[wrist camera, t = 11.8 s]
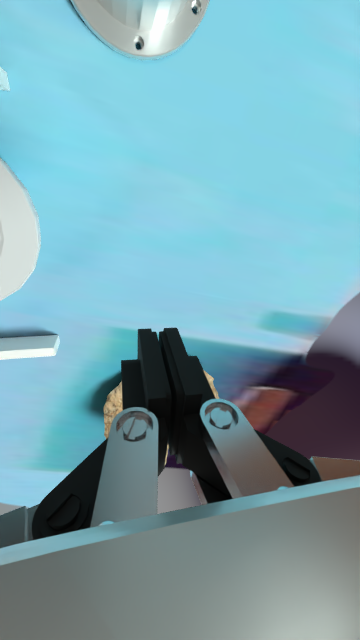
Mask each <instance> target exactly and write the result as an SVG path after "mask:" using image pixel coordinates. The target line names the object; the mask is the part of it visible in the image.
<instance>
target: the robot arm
mask: <svg viewBox="0 0 360 640" xmlns="http://www.w3.org/2000/svg"><path fill="white" fill-rule="evenodd" d="M209 1H210V0H71V2H72V4H73V6H74V8H75V9H76V11H77V12H78V14H79V15H80V17H81V18H82V19H83V21H84V22H85V24H86V25H87V27H88V28H89V29H90V30H91V31H92V32H93V33H94V34H95V35H96V36H97V37H98V38H99V39H100V40H101V41H102V42H103V43H105V44H106V45H107V46H109V47H110V48H111V49H113V50H114V51H116V52H118V53H120V54H122V55H124V56H126V57H129V58H133V59H137V60H157V59H160V58H163V57H167V56H169V55H170V54H172V53H174V52H175V51H177V50H179V49H180V48H181V47H182V46H183V45H184V44H185V43H186V42H187V41H188V40H189V39H190V38H191V36H192V35H193V33H194V32H195V30H196V29H197V27H198V26H199V24H200V22H201V20H202V18H203V17H204V15H205V12H206V10H207V7H208V4H209ZM192 9H195V10H196V15H195V14H194V13H193V12H192ZM136 44H140V46H141V49H140V50H137V49H136V47H135V45H136ZM121 371H122V409H123V411H121V412H120V413H118V414H117V415H116V417H115V418H114V419H113V421H112V424H111V427H110V432H109V437H108V438H107V439H106V440H105V441H104V442H103V443H102V444H101V445H100V446H99V447H97V448H96V449H95V450H94V451H93V452H92V453H91V454H90V455H89V456H88V457H87V458H86V459H85V460H84V461H83V462H82V463H81V464H79V465H78V466H77V467H76V468H75V469H74V470H73V471H72V472H71V473H70V474H69V475H68V476H67V477H66V478H65V479H64V480H63V481H62V482H60V483H59V484H58V485H57V486H56V487H55V488H54V489H53V490H52V491H51V492H50V493H49V494H48V495H47V496H46V497H45V498H44V499H43V500H42V502H41V503H40V504H38V505H36V506H33V507H31V508H28V509H26V506H23V507H21V508H18V509H16V510H13V511H11V512H8V513H5V514H3V515H0V640H360V461H359V460H347V459H335V458H324V457H311V459H310V460H308V459H307V458H306V457H304V456H303V455H301V454H300V453H298V452H296V451H294V450H292V449H290V448H288V447H287V446H285V445H283V444H281V443H279V442H277V441H275V440H273V439H271V438H270V437H268V436H266V435H264V434H262V433H260V432H258V431H256V430H255V429H253V428H252V426H251V425H250V423H249V422H248V421H247V419H246V418H245V416H244V415H243V414H242V412H241V411H240V410H239V408H238V407H237V406H236V405H234V404H233V403H231V402H229V401H227V400H224V399H216V398H215V396H214V393H213V391H212V389H211V387H210V384H209V382H208V380H207V377H206V375H205V373H204V371H203V368H202V366H201V364H200V362H199V359H198V357H197V356H188V355H187V352H186V350H185V347H184V344H183V342H182V339H181V337H180V334H179V332H178V329H177V328H164V331H163V332H159V342H158V338H157V334H156V332H152V331H151V329H138V359H137V360H121ZM167 445H168V447H169V452H170V455H175V457H176V461H177V464H178V463H182V465H183V466H185V467H186V468H188V469H189V470H190V474H191V478H192V481H193V484H194V486H195V489H196V491H197V493H198V496H199V499H200V501H201V503H202V505H200V506H195V507H190V508H186V509H181V510H175V511H170V512H166V513H161V514H157V495H158V491H157V489H158V476H159V475H160V473H161V472H162V471H163V469H164V468H165V458H166V455H167Z"/></svg>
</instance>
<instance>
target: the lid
mask: <svg viewBox="0 0 360 640" xmlns="http://www.w3.org/2000/svg"><path fill="white" fill-rule="evenodd" d="M40 246H41V235H40V226H39V218H38V214H37V211H36V209H35V207H34V205H33V202H32V200H31V198H30V195H29V193H28V191H27V189H26V187H25V186H24V185H23V184H22V182H21V181H20V180H19V178H18V177H17V176H16V175H15V173H14V172H13V171H12V170H11V168H10V167H9V166H8V164H7V163H6V162H5V161H3V160H2V159H1V158H0V301H1V300H3V299H4V298H6V297H7V296H9V295H11V294H12V293H14V292H15V291H17V290H19V289H20V288H21V287H22V286H23V284H24V283H25V282H26V280H27V279H28V278H29V276H30V275H31V274H32V272H33V271H34V269H35V267H36V263H37V259H38V255H39V251H40Z"/></svg>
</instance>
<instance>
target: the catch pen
mask: <svg viewBox="0 0 360 640" xmlns="http://www.w3.org/2000/svg"><path fill="white" fill-rule="evenodd" d="M0 90H6V91H10V86H9V81H8V76H7V72H6V71H4V70H3V69H2V68H1V67H0ZM59 343H60V340H59V335H47V336H29V337H12V338H0V360H2V359H16V358H29V357H43V356H55V355H56V352H57V349H58V346H59Z"/></svg>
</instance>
